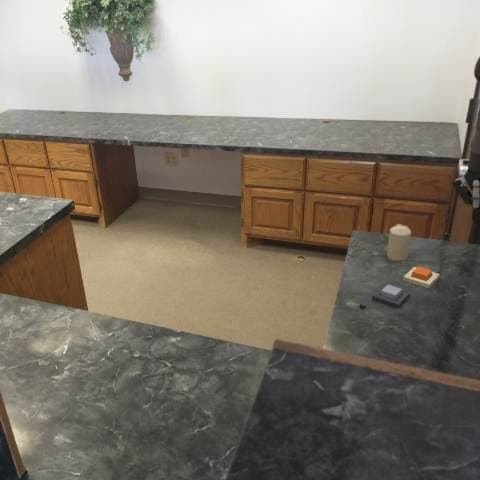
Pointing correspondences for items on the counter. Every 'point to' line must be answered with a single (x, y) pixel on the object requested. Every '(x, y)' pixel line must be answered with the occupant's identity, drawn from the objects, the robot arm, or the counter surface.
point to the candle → (399, 243)
